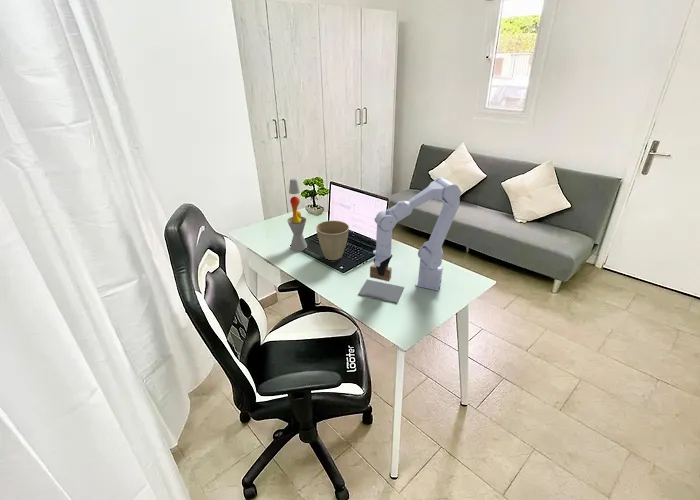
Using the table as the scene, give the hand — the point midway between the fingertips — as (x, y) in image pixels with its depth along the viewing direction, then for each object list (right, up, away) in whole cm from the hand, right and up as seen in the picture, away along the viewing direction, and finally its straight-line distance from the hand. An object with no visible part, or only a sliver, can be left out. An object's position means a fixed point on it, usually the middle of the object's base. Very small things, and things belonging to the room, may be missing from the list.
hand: (382, 273), depth 140 cm
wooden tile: (-1, -2, +1) cm, 2 cm away
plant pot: (-21, +5, +28) cm, 35 cm away
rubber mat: (0, -8, +4) cm, 8 cm away
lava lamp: (-38, +10, +37) cm, 54 cm away
